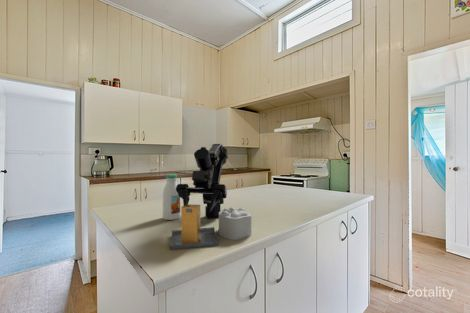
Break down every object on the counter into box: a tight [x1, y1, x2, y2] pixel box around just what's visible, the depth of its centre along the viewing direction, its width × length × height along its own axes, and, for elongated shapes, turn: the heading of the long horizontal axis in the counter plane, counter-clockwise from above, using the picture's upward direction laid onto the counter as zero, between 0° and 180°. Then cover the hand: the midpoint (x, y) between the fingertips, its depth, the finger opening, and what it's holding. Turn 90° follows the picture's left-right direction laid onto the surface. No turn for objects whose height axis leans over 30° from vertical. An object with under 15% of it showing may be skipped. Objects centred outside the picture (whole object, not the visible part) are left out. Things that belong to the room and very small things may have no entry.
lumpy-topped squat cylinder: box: [218, 206, 252, 241], centre depth 82 cm, size 10×13×9 cm
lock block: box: [180, 204, 201, 243], centre depth 72 cm, size 4×5×11 cm
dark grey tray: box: [169, 226, 220, 251], centre depth 74 cm, size 15×12×2 cm
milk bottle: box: [162, 173, 181, 221], centre depth 102 cm, size 8×8×20 cm
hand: (197, 210), depth 78 cm, fingers open, 9 cm apart
